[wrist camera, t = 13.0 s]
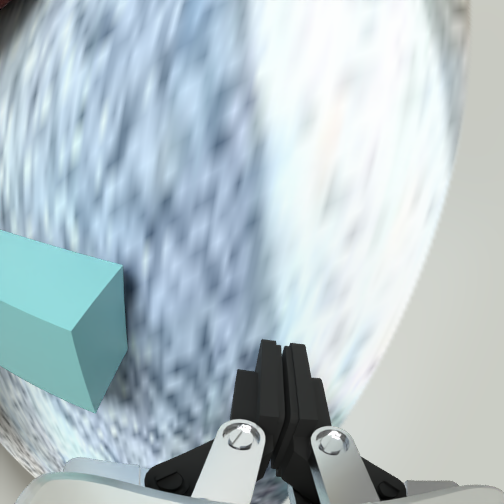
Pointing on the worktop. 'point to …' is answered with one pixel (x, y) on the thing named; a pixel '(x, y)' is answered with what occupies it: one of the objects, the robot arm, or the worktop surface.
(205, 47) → the worktop surface
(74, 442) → the worktop surface
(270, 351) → the robot arm
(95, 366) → the teal rectangular block
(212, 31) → the worktop surface
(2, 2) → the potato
